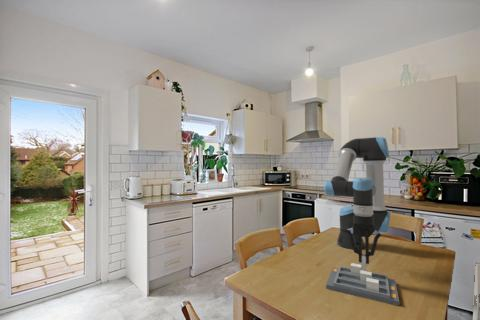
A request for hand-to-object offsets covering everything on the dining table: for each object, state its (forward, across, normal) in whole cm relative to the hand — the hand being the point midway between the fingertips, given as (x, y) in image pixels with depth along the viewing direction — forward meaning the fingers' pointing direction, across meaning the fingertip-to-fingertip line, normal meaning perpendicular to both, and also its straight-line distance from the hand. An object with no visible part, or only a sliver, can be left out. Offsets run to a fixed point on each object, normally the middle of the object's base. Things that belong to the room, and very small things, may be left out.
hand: (364, 270), depth 100 cm
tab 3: (+2, +3, -12) cm, 13 cm away
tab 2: (+2, +1, -6) cm, 6 cm away
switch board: (+4, -1, -6) cm, 7 cm away
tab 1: (+2, -3, 0) cm, 4 cm away
